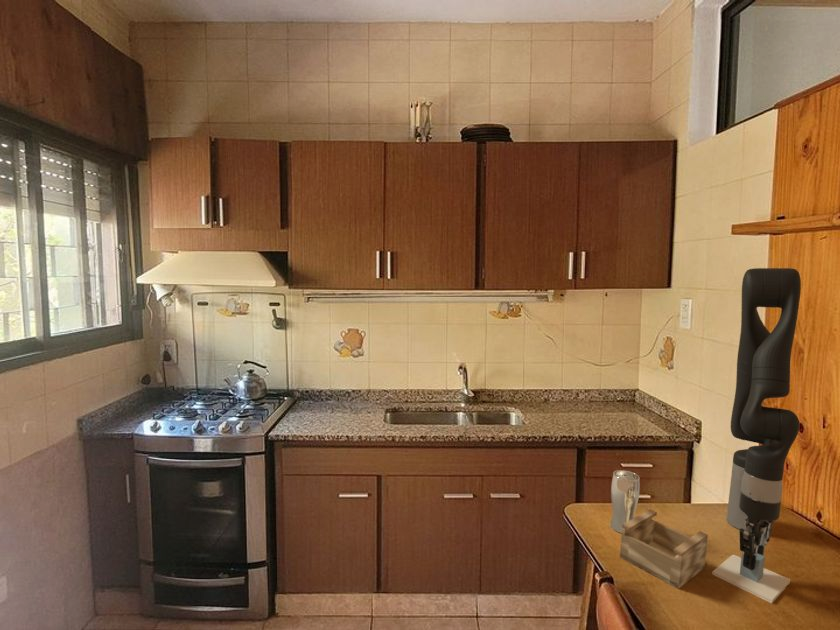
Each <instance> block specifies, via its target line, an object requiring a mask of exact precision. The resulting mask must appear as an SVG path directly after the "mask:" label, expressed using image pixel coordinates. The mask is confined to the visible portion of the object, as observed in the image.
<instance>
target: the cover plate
mask: <svg viewBox="0 0 840 630" xmlns="http://www.w3.org/2000/svg"><path fill="white" fill-rule="evenodd" d="M743 558H744V552H742V553H741V557H740V556H737V555H735V554H731V555H730V556H729V557H728V558H727V559H726V560H724V561H723V562H722V563H721V564H719V565H718V566H717V567H716V568H715V569H714V570H712V572H711V574H712V576H714V577H716V578H719V579H721V580H723V581H725V582H727V583H729V584H731V585H733V586H735V587H737V588H739V589H741V590H743V591H745V592H748V593H750V594H752V595H754V596H756V597H758V598H760V599H762V600H764V601H766V602H767V603H770V604H773V603H774V601H776V599H777V598H778V597H779V596H780V595H781V594H782V592H783V591H784V590H785V589H786V588H787V587H786V586H787V585H788V586H789V585H790V584H791V579H790V578H788V577H786V576H783V575H781V574H778V573H776V572H774V571H772V570H770V569H767V568H765V560H766V559H765V558H766V555H764V554H763V555H760V554H758V553H757V555H756V564H755V569H754V570H750V569H748V568H746V567H744V566H743ZM785 587H786V588H785Z"/></svg>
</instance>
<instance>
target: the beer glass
mask: <svg viewBox="0 0 840 630" xmlns="http://www.w3.org/2000/svg"><path fill="white" fill-rule="evenodd" d="M640 488H641V487H640V476H639V475H638V474H637V473H634V472H632V471H630V470H624V469H623V470H621V469H616V470H614V471H613V473H612V480H611V487H610V498H611V506H612V517H611V520H610V522H609V527H610V526H611V527H610V528H611V530H613V529H614V530H615V532H616V531H617V533H619V532H620V533H619V534H622V525H623V524H624V523H626V522H628V521H630V520H632V519H633V518H635V513H636V510H637V506H638V502H639V498H640ZM614 530H613V531H614Z"/></svg>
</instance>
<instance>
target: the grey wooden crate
mask: <svg viewBox="0 0 840 630" xmlns="http://www.w3.org/2000/svg"><path fill="white" fill-rule="evenodd" d="M657 514H658V513H657V511H654V510H652V509H648V510H646V511H644V512H643V513H641V514H639V515H637V516H636V517H635V516H634V518H633V519H632V520H630V521H628V522H626V523H624V524H623V525H622V533H621V539H620V551H619V558H621V559H622V558H623V560H625V561H626V562H628V563H630V564H632V565H633V566H636V567H638V568H640V569H641V570H644V571H645V572H646V573H648V574H650V575H652V576H655V578H658V579H659V580H661V581H663V582H665V583H667V584H668V585H670V586H673V587H674V588H676V589H680V588H681V587H683V586H684V585H685V584H687V582H688V581H690V580H692V578H695V576H696V575H698V574H699V573H701V571H703V570H704V569H705V565H706V557H707V555H706V554H707V547H708V537H709V536H708V535H709V534H707V533H705V532H702V531H698V532H696V533H695V534H694V535H692V536H689V535H687V534H684V533H683V532H680V531H679V530H676V529H674V528H672V527H670V526H668V525H665V524H663V523H660V522H659V521H656V520H654V519H653V518H654V517H656V516H657Z"/></svg>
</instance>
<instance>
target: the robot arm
mask: <svg viewBox="0 0 840 630" xmlns="http://www.w3.org/2000/svg"><path fill="white" fill-rule="evenodd" d="M801 282H802V281H801V274H800V273H799V271H798V269H795V268H791V267H789V268H788V267H780V268H779V267H777V268H776V267H769V268H768V267H767V268H766V267H763V268H762V267H759V268H758V267H757V268H756V267H755V268H749V269H747V270H746V271H745V272H744V274H743V277H742V284H741V315H740V316H741V321H740V322H741V325H740V334H739V344H738V351H737V359H736V360H737V361H736V379H735V381H736V383H735V391H734V393H735V394H734V400H733V404H732V405H733V406H732V411H731V417H730V432H731V435H732V437H734V438H735V439H739V440H742V441H748V442H752V443H756V444H759V445H753V446H749V447H748V448H747V449H746V448H745V449H739V450H735V452H734V453H733V457H732V464H731V465H732V466H731V467H732V468H731V477H730V485H729V493H728V503H727V512H726V522H727V523H728V524H730V525H731V526H732V527H733V528H736V529H738V530H739V551H740V552H742V553H744V558H743V566H744V567H746V568H748V569H750V570H754V569H755V564H756V555H757V553H758V554H760V555H763V556H764V552H765V548H766V546H767V543H769V542H770V538H771V533H772V529H773V524H774V522H776V521H777V520H779V518H780V515H781V514H780V513H781V507H782V506H781V505H782V497H783V489H784V488H783V478H784V472H785V471H784V470H785V462H786V459H787V458H788V457H787V456H788V454H789V452H790V450H791V447H792V446H793V444H794V442H795V440H796V438H797V437H798V434H799V432H800V429H801V428H800V426H801V424H800V423H801V422H800V420H799V418H798V416H797V415H796V413H795V412H793V411H792V410H790V409H786V408H785V409H784V408H779V407H778V408H777V407H769V406H762V404H763V402H764V401H765V400H766V399H767V400H768V399H777V398H785V397H787V396H788V395H789V394H790V390H791V388H790V387H791V385H790V384H791V358H792V357H791V356H792V351H793V350H792V349H793V343H794V339H795V333H796V328H797V327H796V326H797V321H798V315H799V307H800V300H801V291H802V283H801ZM758 308H778V309H781V311H780V316H779V319H778V321H777V323H776V325H775V326H774V328H773V329H772V331H771V332H770V331H769V330H768V329H767V327H766V326H765V324H764V322H763V321H762V319H761V316H760V314H759V312H758ZM760 444H761V445H760Z"/></svg>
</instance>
